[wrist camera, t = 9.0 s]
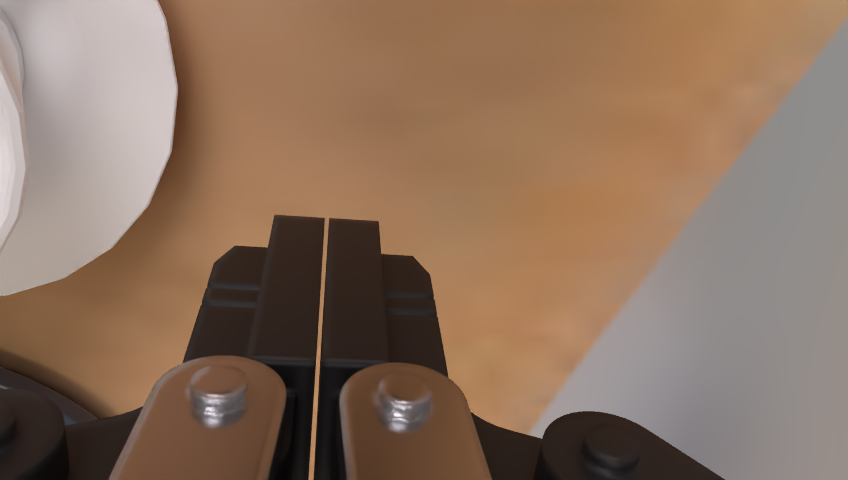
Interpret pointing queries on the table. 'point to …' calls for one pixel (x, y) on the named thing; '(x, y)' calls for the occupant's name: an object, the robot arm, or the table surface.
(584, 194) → the table surface
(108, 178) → the teacup
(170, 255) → the table surface
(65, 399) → the plate
